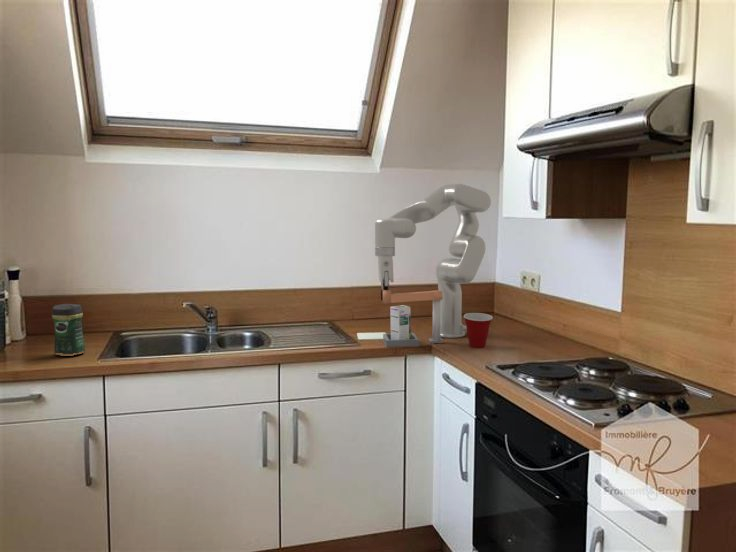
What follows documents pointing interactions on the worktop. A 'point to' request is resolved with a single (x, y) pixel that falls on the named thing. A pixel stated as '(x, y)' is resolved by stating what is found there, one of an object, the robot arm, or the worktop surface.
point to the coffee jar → (68, 328)
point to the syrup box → (400, 322)
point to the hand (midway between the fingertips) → (385, 300)
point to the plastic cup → (477, 328)
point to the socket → (414, 340)
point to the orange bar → (411, 296)
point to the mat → (370, 336)
